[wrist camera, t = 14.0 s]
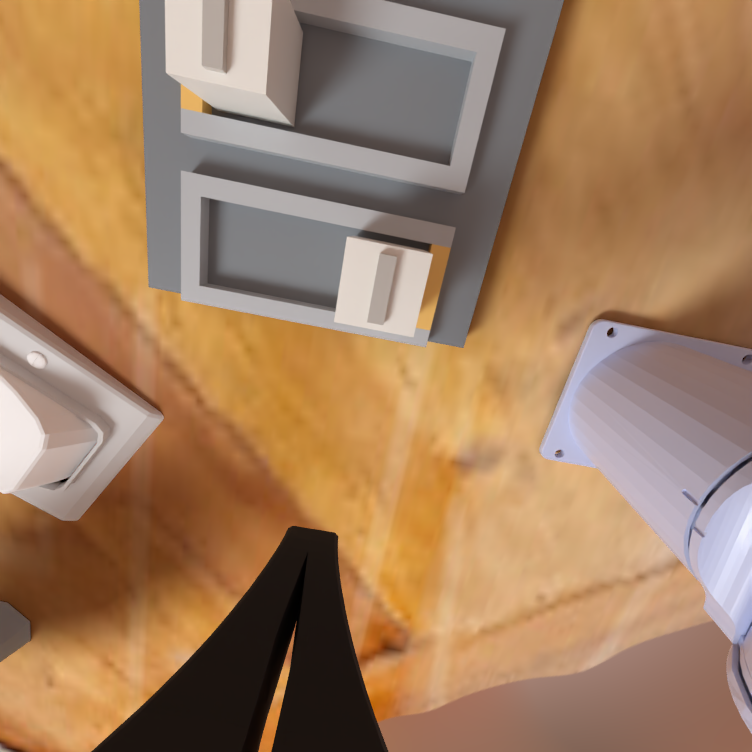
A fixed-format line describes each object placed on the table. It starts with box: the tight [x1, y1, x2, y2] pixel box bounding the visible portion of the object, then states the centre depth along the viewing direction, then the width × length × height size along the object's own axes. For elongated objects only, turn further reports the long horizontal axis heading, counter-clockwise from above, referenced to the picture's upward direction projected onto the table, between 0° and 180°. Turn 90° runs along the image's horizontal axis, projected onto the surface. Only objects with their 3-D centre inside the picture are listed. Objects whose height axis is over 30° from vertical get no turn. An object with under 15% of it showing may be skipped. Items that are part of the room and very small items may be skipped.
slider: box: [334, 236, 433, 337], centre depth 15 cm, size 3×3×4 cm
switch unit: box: [139, 0, 564, 348], centre depth 14 cm, size 15×18×2 cm
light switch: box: [0, 294, 164, 521], centre depth 20 cm, size 11×4×13 cm
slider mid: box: [165, 0, 303, 127], centre depth 12 cm, size 3×3×4 cm
